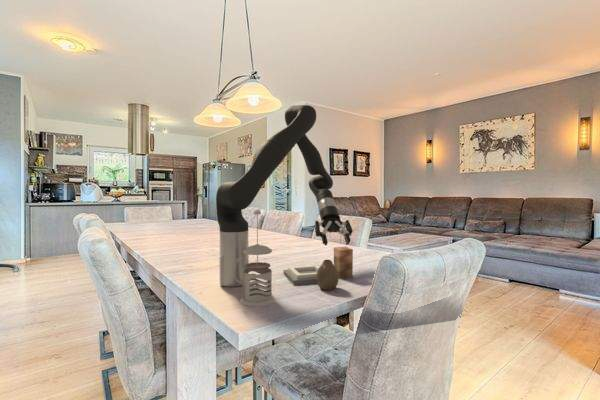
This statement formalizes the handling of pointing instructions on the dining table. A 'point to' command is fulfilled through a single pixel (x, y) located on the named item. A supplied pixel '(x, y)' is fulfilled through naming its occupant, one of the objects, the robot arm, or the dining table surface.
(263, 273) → the french press
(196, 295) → the dining table surface
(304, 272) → the pocket board
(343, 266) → the copper rectangular block
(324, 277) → the vase
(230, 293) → the dining table surface
